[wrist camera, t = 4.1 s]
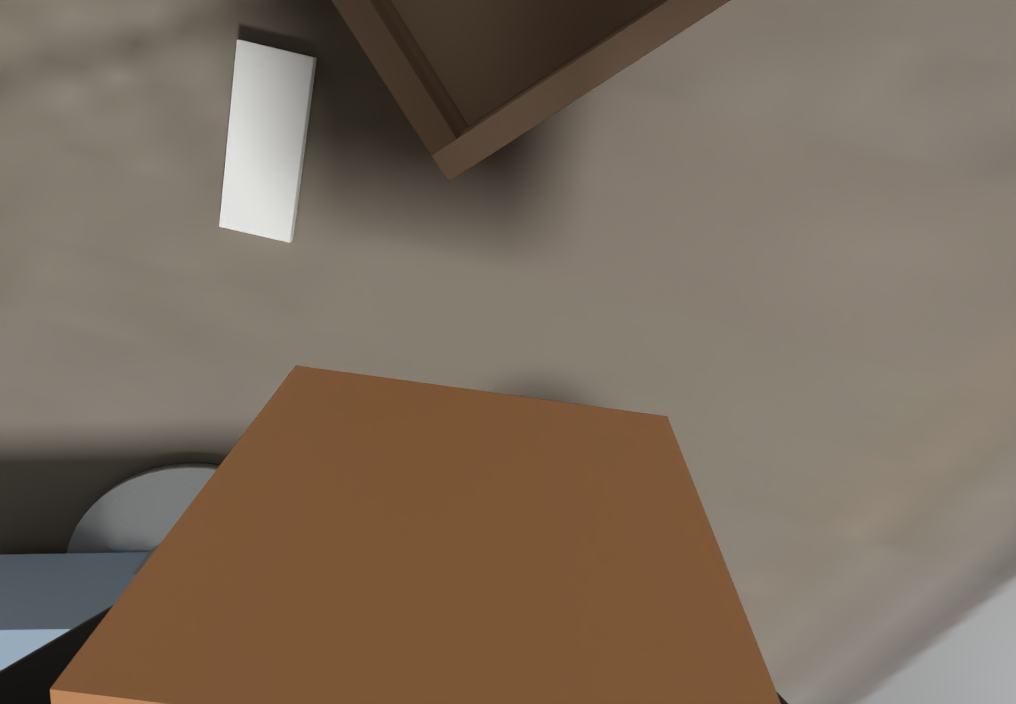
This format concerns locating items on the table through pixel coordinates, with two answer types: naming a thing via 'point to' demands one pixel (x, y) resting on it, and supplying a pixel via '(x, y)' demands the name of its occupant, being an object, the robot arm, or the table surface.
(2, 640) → the crank
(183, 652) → the block
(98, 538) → the plate
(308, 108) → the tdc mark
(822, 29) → the table surface
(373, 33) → the tray
